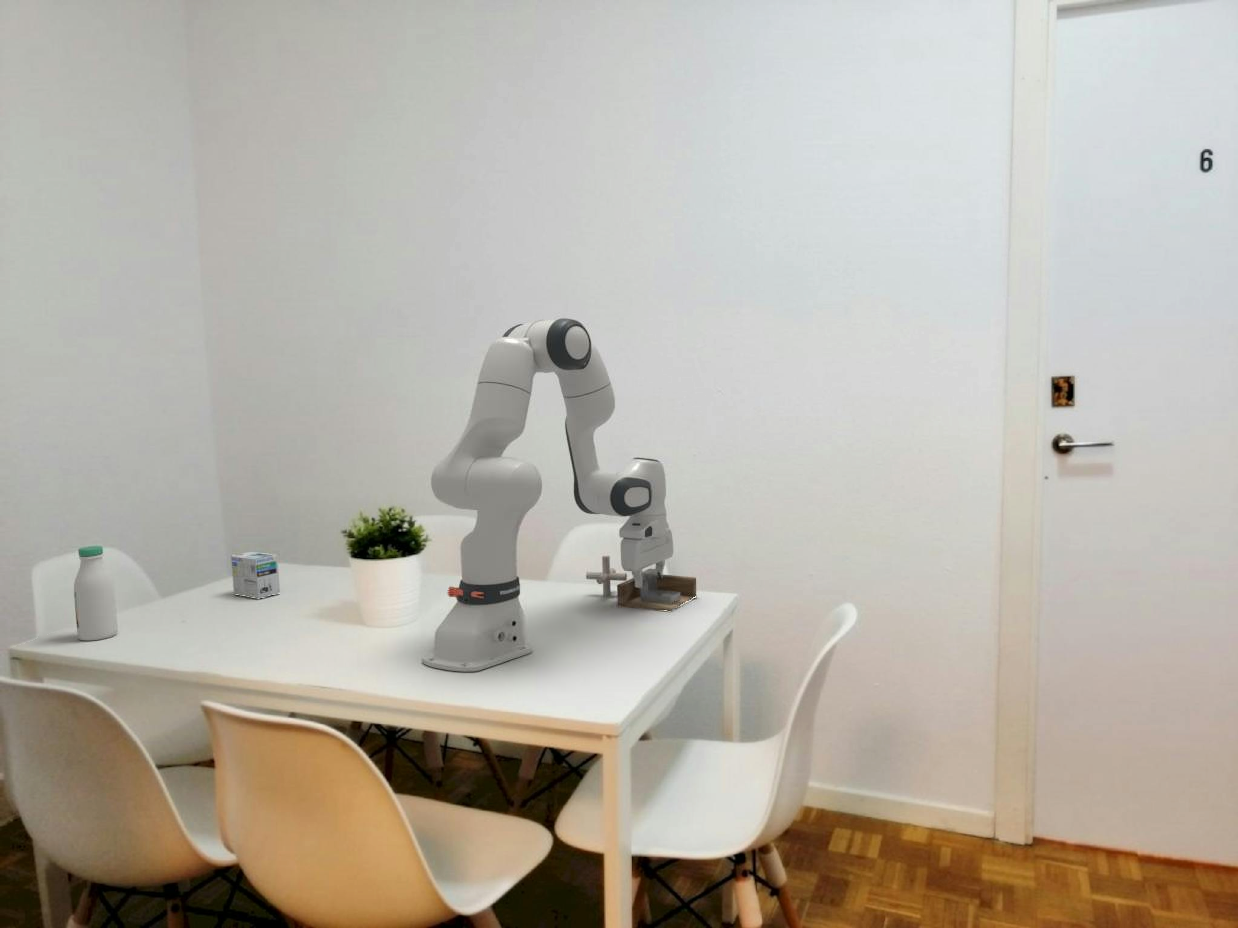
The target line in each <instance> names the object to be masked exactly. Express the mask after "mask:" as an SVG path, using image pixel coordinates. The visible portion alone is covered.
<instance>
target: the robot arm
mask: <svg viewBox="0 0 1238 928" xmlns="http://www.w3.org/2000/svg"><path fill="white" fill-rule="evenodd" d="M537 373H545V374H546V373H547V374H550V373H554V374H555V375H556V376H557V378H558V382H559V387H560V392H561V394H562V396H563V401H564V407H565V412H566V416H565V422H564V427H565V436H566V441H567V447H568V452H569V457H570V461H571V468H572V472H573V473H572V475H573V498H574V501H575V504H576V506H577V507H578V509H580V510H581V511H582V512H584V513H585V514H587V515H588V514H589V515H606V516H611V517H612V516H613V517H615V516H616V517H621V518H622V517H624V518H625V517H628V519H627V520H626V522H625V523H624V524H623V525H622V526H621V527H620V528H619V530H618V534H619V535H618V536H619V538H622V539H621V541H620V565H621V567H622V569H623V571H625V572H631V575H632V578H634V580H635V587H637V588H641V587H643V586H644V579H642V575H641V573H642V572H643V570H644V569H645V568H648V567H651V566H653V565H655V568H654V569H657V578H658V580H659V579H661V578H663V575H664V568H665V565H666V560H667V559H670V558H672V557H673V554H674V542H673V533H672V530H671V528H670V525H669V524H668V521H667V510H666V506H665V500H666V496H667V487H666V486H667V485H666V484H667V482H666V481H667V480H666V474H665V469H664V466H663V463H662V462H661V461H659V460H658V459H655V458H654V459H653V458H646V457H645V458H644V457H633V458H631V460H630V462H629V464H628V465H627V466H625V467H624V468H623V469H621V470H619V471H618V472H616V473H614V474H613V473H606V472H604V471H603V470H602V469H601V468H600V466H599V462H598V458H597V451H596V446H595V441H594V440H595V439H594V434H595V432H596V430H597V429H598V428H599V427H601V426H603V425H604V424H606V423H607V422H608V421H609V420H610V419H611V418H612V415H613V414H614V411H615V409H616V398H615V393H614V389H613V386H612V382H611V380H610V379H611V378H610V376H609V373H608V371H607V368H606V365H605V363H604V360H603V358H602V356H601V354H600V352H599V350H598V348H597V346H596V344H594V343H593V342H592V340H591V337H590V334H589V332H588V330H587V328H586V327H585V326H584V325H583V323H581V322H579V321H578V320H576V319H572V318H565V317H564V318H558V319H538V320H533V321H530V322H527V323H519V324H516V325H514V326H512V327H510V328H509V329H507V330H506V331H505V332H504V333H503V335H502V336H501V337H499V338H496V339H495V340H493V341H492V342H491V344H490V345H489V347H488V349H487V352H486V354H485V357H484V359H483V362H482V365H481V368H480V371H479V375H478V380H477V384H476V389H475V394H474V398H473V402H472V407H471V410H470V411H471V412H470V415H469V418H468V421H467V424H466V426H465V429H464V431H463V433H461V434H462V435H461V436H460V438H459V440H458V441H457V443H456V445H455V446H454V447H453V449H452V450H451V452H449V453H448V454H447V455H446V457H444V458H443V459H442V460H440V461H438V463H437V464H436V465H435V466H434V468H433V471H432V473H431V479H430V485H431V486H430V487H431V490H432V493H433V495H434V497H435V498H436V499H437V500H438V501H440V502H441V503H443V504H445V505H447V506H451V507H453V508H455V509H460V510H461V509H462V510H469V511H470V510H471V511H476V512H477V516H476V521H475V526H474V528H473V529H472V531H470V532H469V533H468V534H467V535H465V536H464V537H463V539H462V540H461V542H460V548H459V549H460V563H461V564H460V565H461V570H460V571H461V579H460V581H459V584H458V585H459V586H458V587H455V586H449V587H448V590H447V593H446V594H447V596H448V597H449V598H453V597H454V598H456V603H455V604H454V605H453V606H452V608H451V610H450V611H449V612H448V613H447V615H446V616H445V618H444V619H443V621H442V622H441V623H440V624H439V625H438V626H437V628H436V630H435V632H434V645H433V648H434V649H433V650H431V652H428V653H426V654H425V655H423V656H422V658H421V663H422V664H424V665H426V666H428V667H431V668H435V669H440V670H447V671H454V672H478V671H481V670H486V669H487V668H491V667H493V666H496V665H499V664H502V663H505V662H508V661H510V660H513V659H516V658H517V659H518V658H519V657H522V656H525V655H526V656H527V655H528V654H530V653H533V648H532V645H531V644H529V642H528V634H527V627H526V625H527V624H526V620H525V613H524V610H523V607H522V606H521V602H520V599H519V596H520V594H521V583H520V577H519V576H518V566H517V563H518V560H517V557H518V556H517V546H518V544H517V543H518V536H519V532H520V529H521V528H520V527H521V525H522V523H523V520H524V518H525V516H526V515H527V513H528V512H529V511H530V510H531V509H533V508H534V507H535V506H536V505H537V503H538V502H539V500H540V498H541V495H542V489H543V481H542V475H541V474H540V471H539V469H538V468H537V467H536V466H535V465H534V464H533V463H531V462H528V461H526V460H523V459H519V458H516V457H512V456H510V457H509V456H503V453H505V450H506V449H507V448H508V446H509V445H510V444H511V443H513V442H514V441H516V440H517V439H518V438H520V436H522V434H523V433H524V431H525V428H526V421H527V418H528V417H527V416H528V411H529V406H530V401H531V396H532V390H533V384H534V377H535V375H536V374H537Z"/></svg>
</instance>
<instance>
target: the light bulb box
mask: <svg viewBox="0 0 1238 928" xmlns="http://www.w3.org/2000/svg"><path fill="white" fill-rule="evenodd" d="M230 559H231V560H230V561H231V574H232V587H233V595H234V594H239V595H245V596H249V597H255V598H262V597H266V596H268V595H272V594H277V593H279V592H280V593H281V588H280V576H279V573H280V572H279V561H278V554H277V553H276V554H275V553H266V552H258V551H257V552H256V551H248V552H242V553H238V554H232V555H230Z"/></svg>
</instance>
